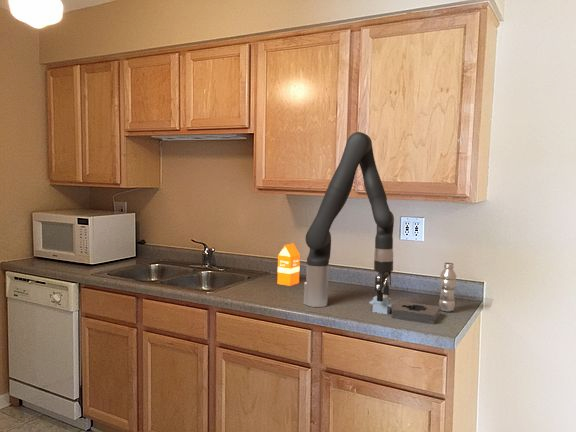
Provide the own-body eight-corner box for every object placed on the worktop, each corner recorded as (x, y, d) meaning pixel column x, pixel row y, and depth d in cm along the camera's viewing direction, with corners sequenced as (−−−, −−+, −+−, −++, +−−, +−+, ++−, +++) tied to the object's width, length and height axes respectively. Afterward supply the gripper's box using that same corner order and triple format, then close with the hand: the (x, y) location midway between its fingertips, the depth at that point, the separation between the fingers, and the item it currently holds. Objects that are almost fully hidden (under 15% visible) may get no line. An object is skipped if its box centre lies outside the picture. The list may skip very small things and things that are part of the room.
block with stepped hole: (391, 317, 191) (392, 309, 191) (400, 309, 204) (401, 301, 203) (433, 324, 184) (434, 315, 184) (440, 315, 196) (440, 306, 196)
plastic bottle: (454, 309, 206) (456, 262, 204) (455, 313, 199) (457, 265, 197) (438, 308, 207) (440, 261, 206) (438, 312, 201) (441, 264, 199)
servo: (368, 311, 200) (369, 294, 199) (372, 309, 203) (372, 292, 203) (390, 314, 196) (391, 297, 195) (393, 312, 199) (394, 295, 199)
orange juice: (299, 282, 250) (300, 243, 248) (290, 285, 242) (291, 245, 241) (286, 280, 254) (287, 242, 252) (276, 283, 246) (277, 244, 245)
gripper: (379, 256, 206) (379, 294, 207) (369, 261, 193) (368, 301, 194) (397, 257, 202) (396, 296, 203) (387, 262, 189) (387, 304, 191)
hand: (382, 298), depth 199 cm, fingers open, 8 cm apart
